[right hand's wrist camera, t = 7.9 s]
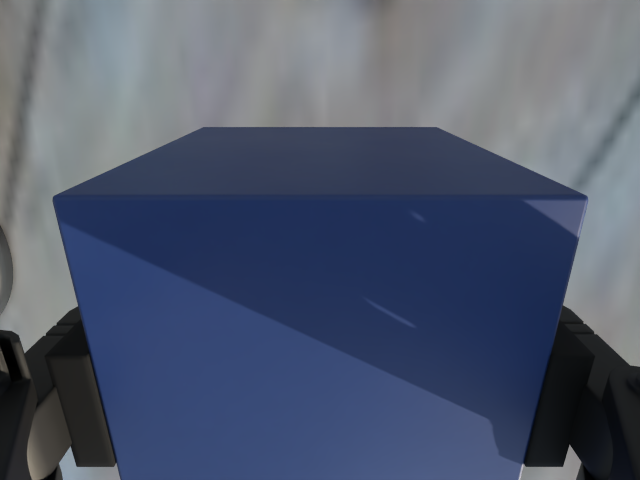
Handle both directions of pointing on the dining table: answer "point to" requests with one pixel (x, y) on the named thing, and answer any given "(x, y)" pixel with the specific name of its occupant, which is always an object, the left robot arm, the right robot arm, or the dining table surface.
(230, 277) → the block
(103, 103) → the dining table surface
